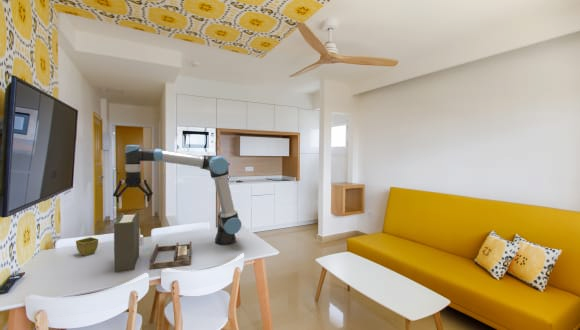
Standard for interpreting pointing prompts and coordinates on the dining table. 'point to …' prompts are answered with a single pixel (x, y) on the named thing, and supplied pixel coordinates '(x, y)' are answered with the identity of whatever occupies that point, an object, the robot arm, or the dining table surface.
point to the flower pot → (87, 246)
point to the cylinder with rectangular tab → (140, 239)
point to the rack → (171, 263)
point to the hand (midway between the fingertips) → (133, 207)
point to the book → (126, 242)
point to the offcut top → (182, 252)
